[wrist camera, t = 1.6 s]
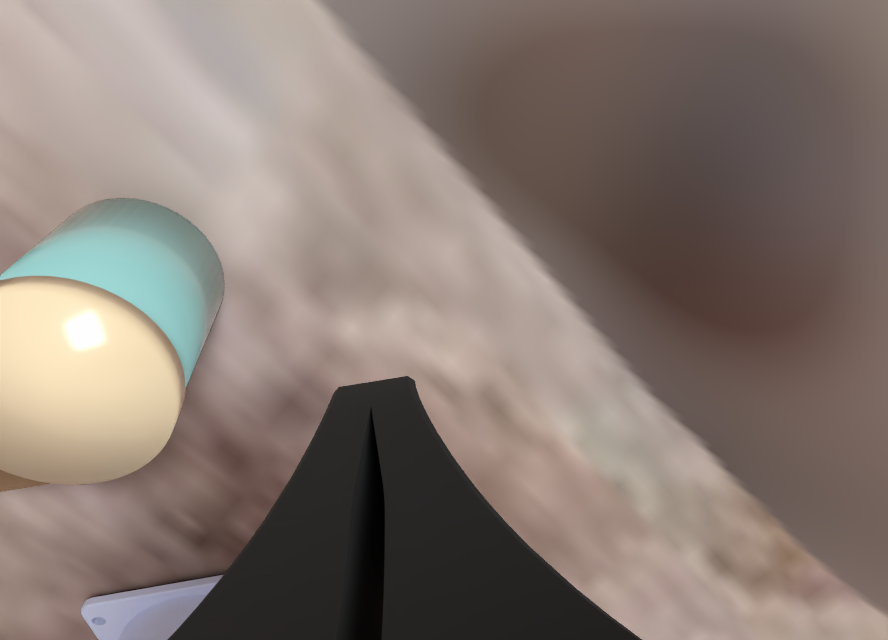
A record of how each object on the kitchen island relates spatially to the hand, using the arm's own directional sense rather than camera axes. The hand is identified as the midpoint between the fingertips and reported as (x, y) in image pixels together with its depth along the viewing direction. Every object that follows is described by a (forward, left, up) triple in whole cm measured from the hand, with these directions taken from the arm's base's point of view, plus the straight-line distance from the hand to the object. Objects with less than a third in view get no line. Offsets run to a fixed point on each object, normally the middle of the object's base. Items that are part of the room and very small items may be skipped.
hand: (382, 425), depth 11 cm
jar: (0, +7, -9) cm, 11 cm away
